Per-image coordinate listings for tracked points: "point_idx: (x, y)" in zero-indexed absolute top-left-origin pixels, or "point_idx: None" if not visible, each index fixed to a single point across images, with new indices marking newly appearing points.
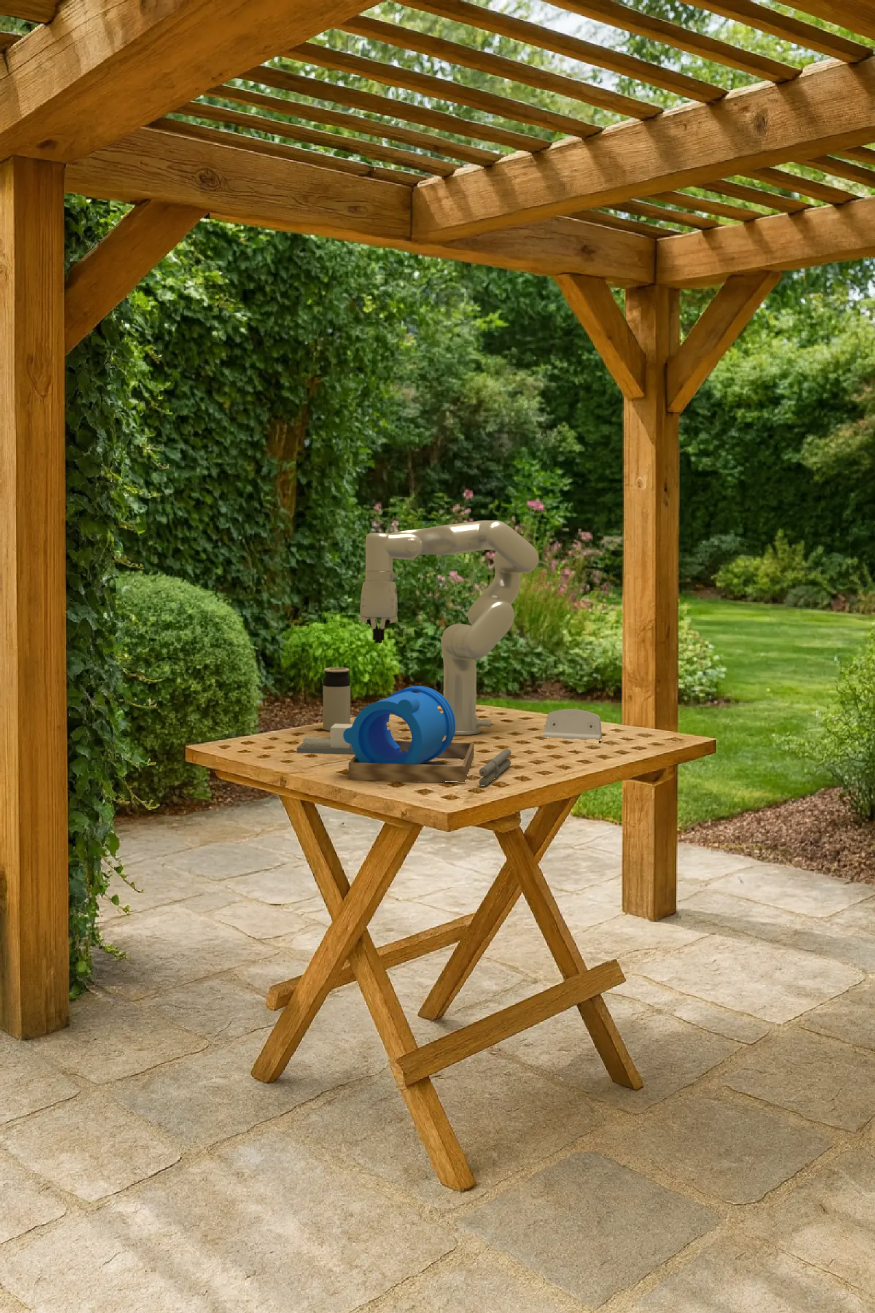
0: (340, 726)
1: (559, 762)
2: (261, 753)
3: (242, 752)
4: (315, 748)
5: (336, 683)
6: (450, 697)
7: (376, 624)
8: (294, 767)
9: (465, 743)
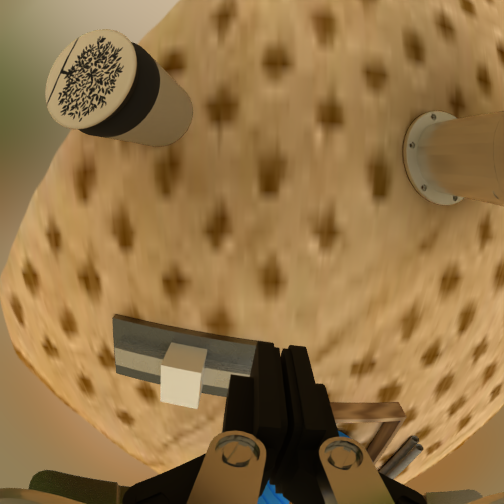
0: (177, 393)
1: (474, 402)
2: (74, 366)
3: (50, 354)
4: (146, 380)
5: (106, 136)
6: (472, 190)
7: (254, 481)
8: (145, 445)
9: (393, 420)
